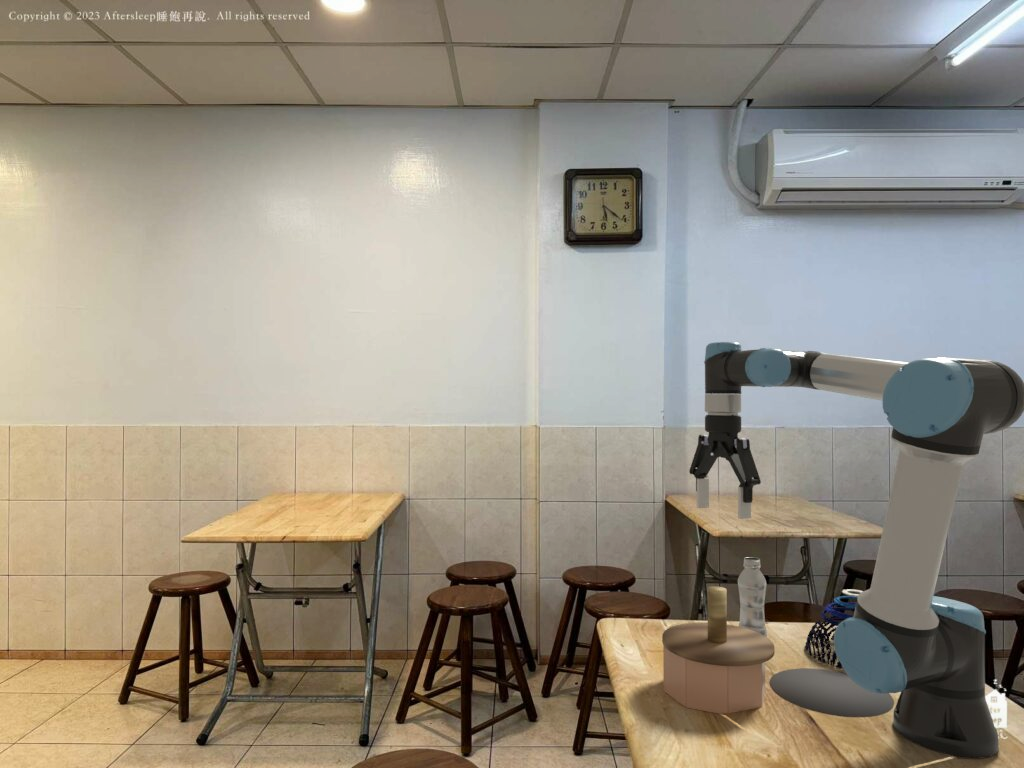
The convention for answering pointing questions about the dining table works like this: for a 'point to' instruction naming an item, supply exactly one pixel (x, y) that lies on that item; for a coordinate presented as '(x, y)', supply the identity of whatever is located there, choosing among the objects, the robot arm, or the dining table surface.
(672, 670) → the bowl
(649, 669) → the dining table surface
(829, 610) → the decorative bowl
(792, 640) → the dining table surface
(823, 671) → the mat
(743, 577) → the plastic bottle
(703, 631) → the lid
